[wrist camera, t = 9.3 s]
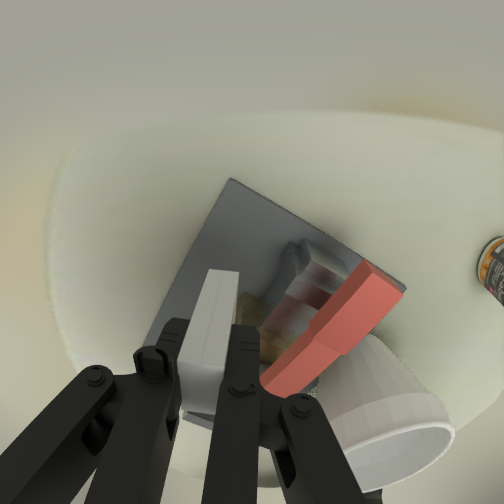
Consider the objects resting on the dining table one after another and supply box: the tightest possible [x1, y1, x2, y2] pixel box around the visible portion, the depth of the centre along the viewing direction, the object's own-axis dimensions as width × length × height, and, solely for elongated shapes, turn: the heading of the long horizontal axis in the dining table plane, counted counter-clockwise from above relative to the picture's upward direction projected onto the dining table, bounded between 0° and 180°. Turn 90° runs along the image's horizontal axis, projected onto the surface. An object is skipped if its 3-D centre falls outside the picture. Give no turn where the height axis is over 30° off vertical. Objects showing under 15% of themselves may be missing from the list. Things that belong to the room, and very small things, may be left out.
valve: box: [182, 237, 351, 430], centre depth 24 cm, size 20×7×6 cm, turn 150°
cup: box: [316, 333, 456, 493], centre depth 23 cm, size 12×12×14 cm
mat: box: [143, 178, 407, 394], centre depth 27 cm, size 22×18×1 cm
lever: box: [259, 259, 403, 398], centre depth 18 cm, size 14×4×3 cm, turn 147°
